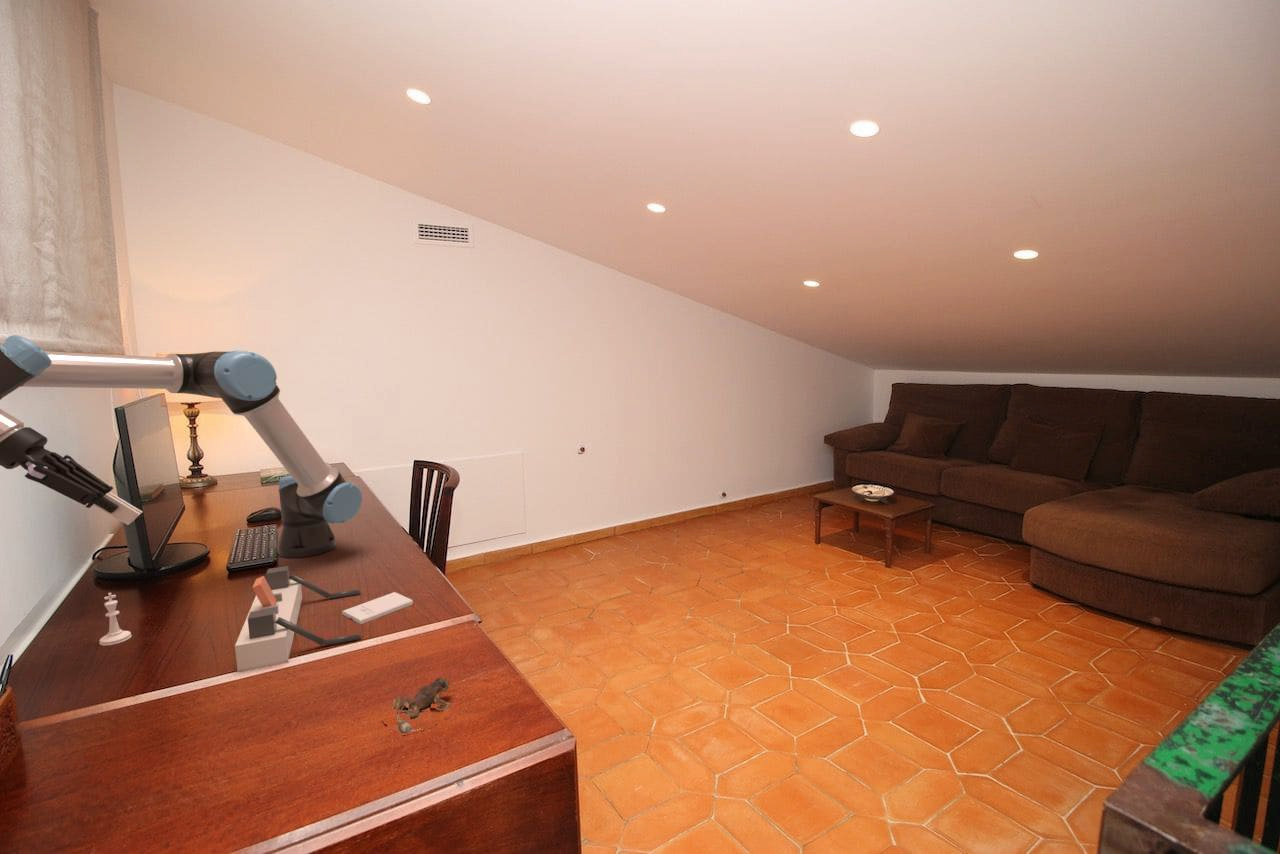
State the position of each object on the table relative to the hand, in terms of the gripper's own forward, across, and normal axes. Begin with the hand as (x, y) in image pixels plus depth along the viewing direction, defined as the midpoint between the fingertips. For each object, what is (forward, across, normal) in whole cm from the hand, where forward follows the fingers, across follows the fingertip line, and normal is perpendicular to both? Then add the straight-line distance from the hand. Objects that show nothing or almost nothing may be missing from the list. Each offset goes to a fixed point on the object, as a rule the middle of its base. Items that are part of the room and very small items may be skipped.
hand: (135, 518), depth 114 cm
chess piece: (+14, -5, -24) cm, 28 cm away
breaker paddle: (+30, +5, +1) cm, 31 cm away
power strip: (+38, +5, +1) cm, 39 cm away
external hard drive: (+49, +4, +11) cm, 50 cm away
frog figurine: (+52, +48, +14) cm, 72 cm away
